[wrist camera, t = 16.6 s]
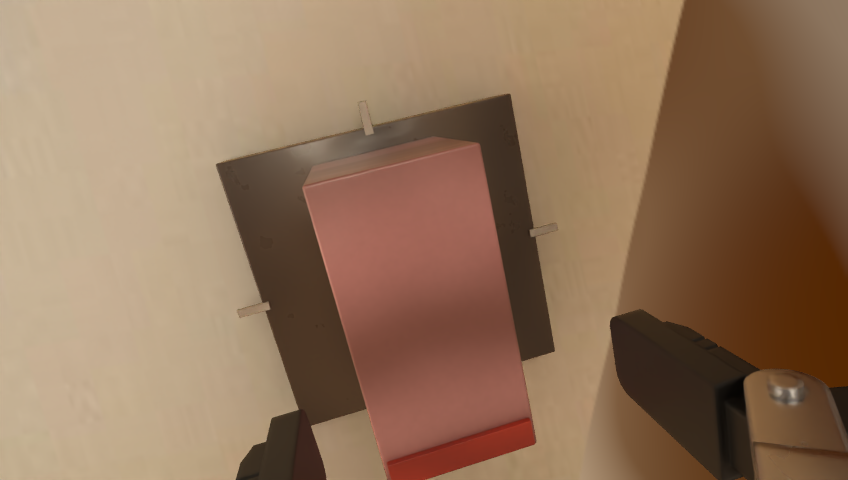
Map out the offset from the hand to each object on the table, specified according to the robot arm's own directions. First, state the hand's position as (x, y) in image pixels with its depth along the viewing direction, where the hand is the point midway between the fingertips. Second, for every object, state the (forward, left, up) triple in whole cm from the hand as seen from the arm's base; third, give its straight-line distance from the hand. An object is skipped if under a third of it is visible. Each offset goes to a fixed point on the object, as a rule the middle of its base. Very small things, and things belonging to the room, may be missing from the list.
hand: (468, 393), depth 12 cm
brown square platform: (0, 0, -13) cm, 13 cm away
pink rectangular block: (0, 0, -11) cm, 11 cm away
